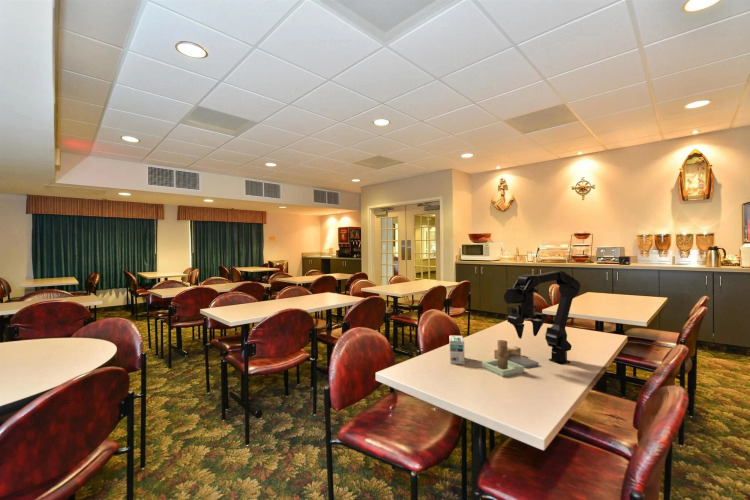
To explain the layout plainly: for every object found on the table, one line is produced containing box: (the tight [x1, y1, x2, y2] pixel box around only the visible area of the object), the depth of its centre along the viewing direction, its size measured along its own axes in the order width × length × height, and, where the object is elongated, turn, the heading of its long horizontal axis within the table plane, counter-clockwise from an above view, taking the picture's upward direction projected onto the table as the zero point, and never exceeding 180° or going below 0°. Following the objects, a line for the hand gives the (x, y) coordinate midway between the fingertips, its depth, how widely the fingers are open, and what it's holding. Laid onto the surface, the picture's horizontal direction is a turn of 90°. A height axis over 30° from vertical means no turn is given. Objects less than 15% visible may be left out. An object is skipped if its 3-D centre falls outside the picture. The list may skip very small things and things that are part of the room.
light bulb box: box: [448, 334, 466, 365], centre depth 156 cm, size 11×7×11 cm, turn 168°
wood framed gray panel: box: [508, 355, 540, 369], centre depth 152 cm, size 8×12×2 cm, turn 22°
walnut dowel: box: [497, 339, 508, 370], centre depth 143 cm, size 4×4×12 cm
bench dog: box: [493, 346, 522, 360], centre depth 159 cm, size 14×3×4 cm, turn 114°
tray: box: [482, 359, 525, 378], centre depth 143 cm, size 12×12×2 cm
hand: (527, 337), depth 147 cm, fingers open, 9 cm apart
